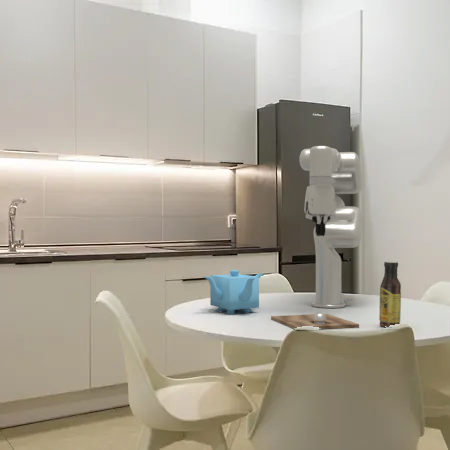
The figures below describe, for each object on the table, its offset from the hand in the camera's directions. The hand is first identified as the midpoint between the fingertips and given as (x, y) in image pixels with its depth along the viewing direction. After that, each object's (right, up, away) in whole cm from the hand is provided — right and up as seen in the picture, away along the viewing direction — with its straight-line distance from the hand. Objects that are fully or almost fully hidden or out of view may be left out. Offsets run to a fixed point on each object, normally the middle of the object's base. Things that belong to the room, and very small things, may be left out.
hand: (320, 235), depth 213 cm
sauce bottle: (+18, -28, -24) cm, 40 cm away
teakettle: (-29, -27, +6) cm, 40 cm away
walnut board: (-5, -27, -18) cm, 33 cm away
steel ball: (-4, -25, -23) cm, 34 cm away
